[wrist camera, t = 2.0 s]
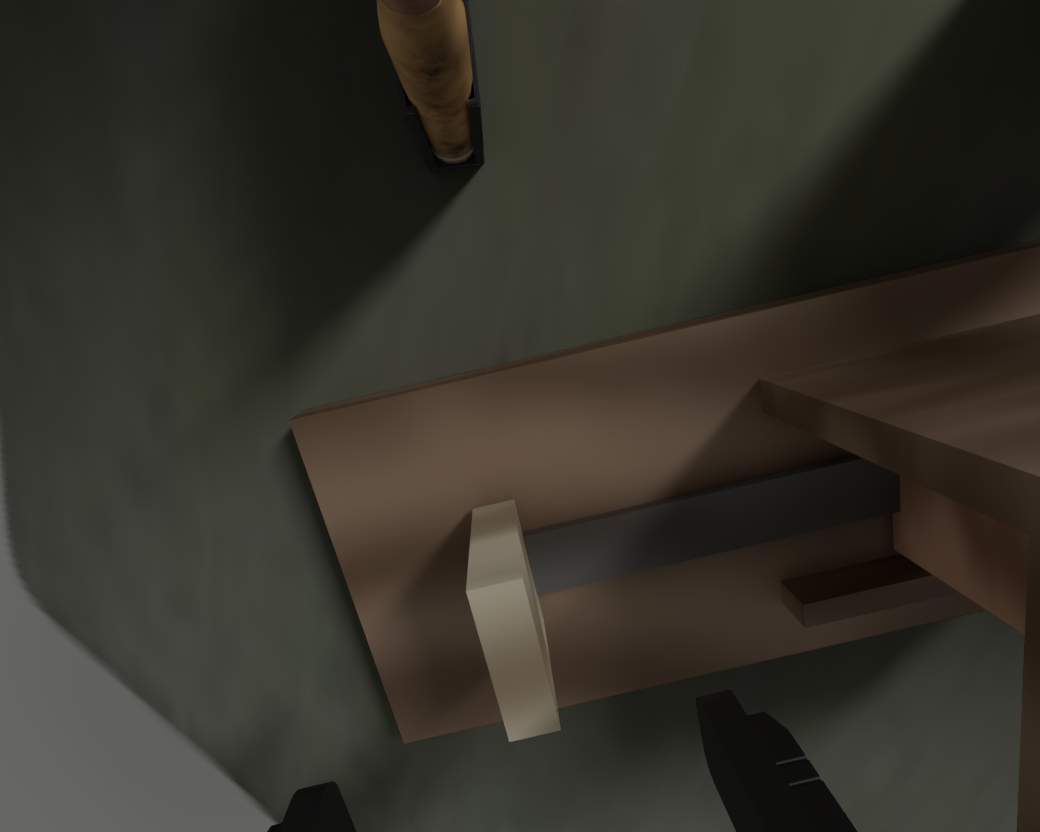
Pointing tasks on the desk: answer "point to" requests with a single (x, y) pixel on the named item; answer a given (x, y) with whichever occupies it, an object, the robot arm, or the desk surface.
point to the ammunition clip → (436, 78)
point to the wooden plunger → (707, 531)
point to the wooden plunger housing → (694, 484)
